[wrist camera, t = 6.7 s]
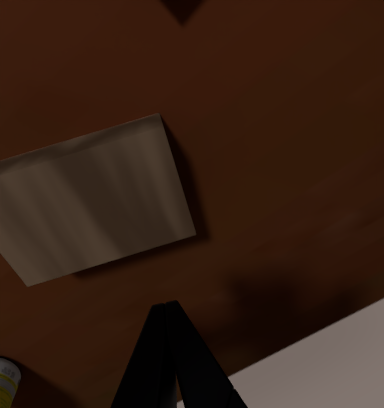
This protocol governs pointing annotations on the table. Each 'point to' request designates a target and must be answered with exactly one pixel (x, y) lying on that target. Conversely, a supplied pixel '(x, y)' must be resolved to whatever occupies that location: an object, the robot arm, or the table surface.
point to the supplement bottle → (8, 382)
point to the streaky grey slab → (91, 201)
